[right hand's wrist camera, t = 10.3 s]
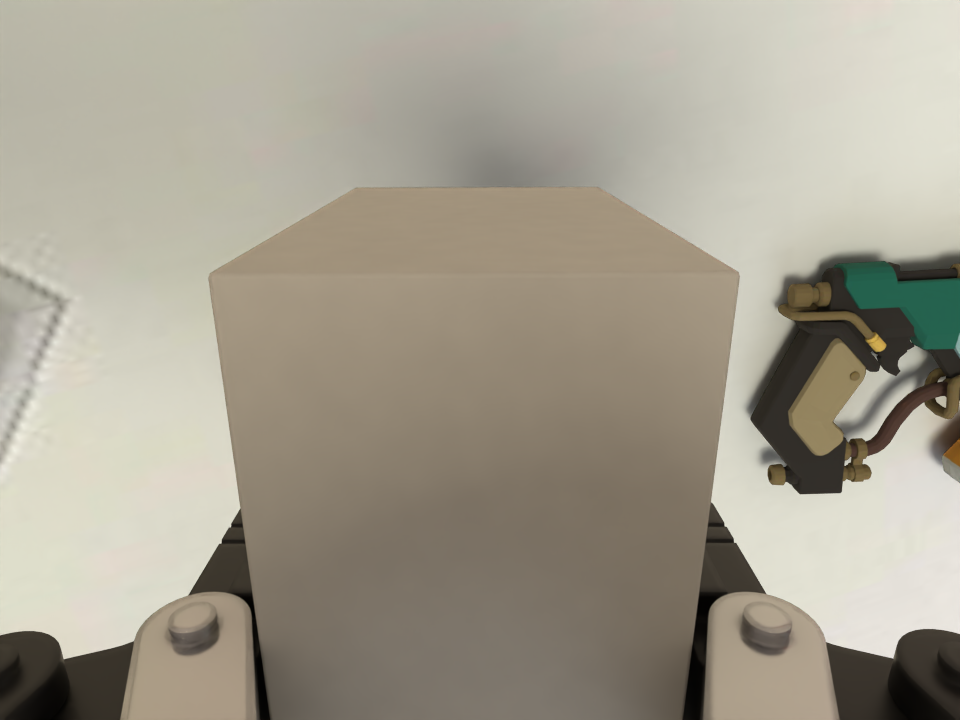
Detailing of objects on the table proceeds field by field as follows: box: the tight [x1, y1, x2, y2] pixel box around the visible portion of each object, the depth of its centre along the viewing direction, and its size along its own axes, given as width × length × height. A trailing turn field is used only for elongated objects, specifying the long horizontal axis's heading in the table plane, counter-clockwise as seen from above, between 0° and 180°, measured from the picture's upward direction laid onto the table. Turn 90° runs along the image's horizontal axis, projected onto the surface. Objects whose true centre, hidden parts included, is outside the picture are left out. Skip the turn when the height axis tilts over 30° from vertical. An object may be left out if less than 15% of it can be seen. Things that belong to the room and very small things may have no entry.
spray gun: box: [751, 261, 960, 494], centre depth 32 cm, size 4×17×15 cm
